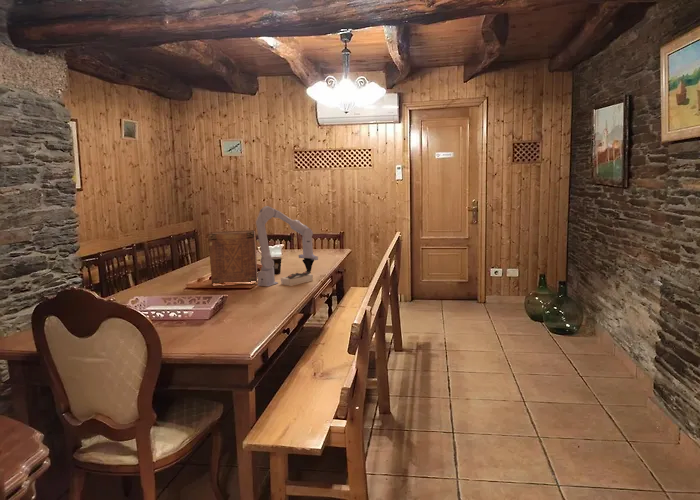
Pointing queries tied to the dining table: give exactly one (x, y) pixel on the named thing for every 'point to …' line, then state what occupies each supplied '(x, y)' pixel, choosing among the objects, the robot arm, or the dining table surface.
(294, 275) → the rocker inner
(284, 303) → the dining table surface
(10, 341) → the dining table surface
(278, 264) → the coffee mug
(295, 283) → the power strip
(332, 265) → the dining table surface
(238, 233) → the carved wooden box
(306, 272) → the rocker outer
